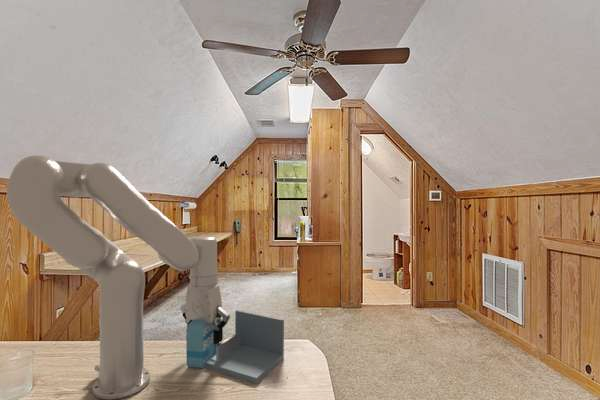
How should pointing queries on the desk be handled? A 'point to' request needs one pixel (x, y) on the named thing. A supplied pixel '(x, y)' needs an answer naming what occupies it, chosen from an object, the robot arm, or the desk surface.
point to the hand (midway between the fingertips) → (204, 339)
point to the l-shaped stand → (253, 347)
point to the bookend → (227, 347)
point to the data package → (199, 343)
